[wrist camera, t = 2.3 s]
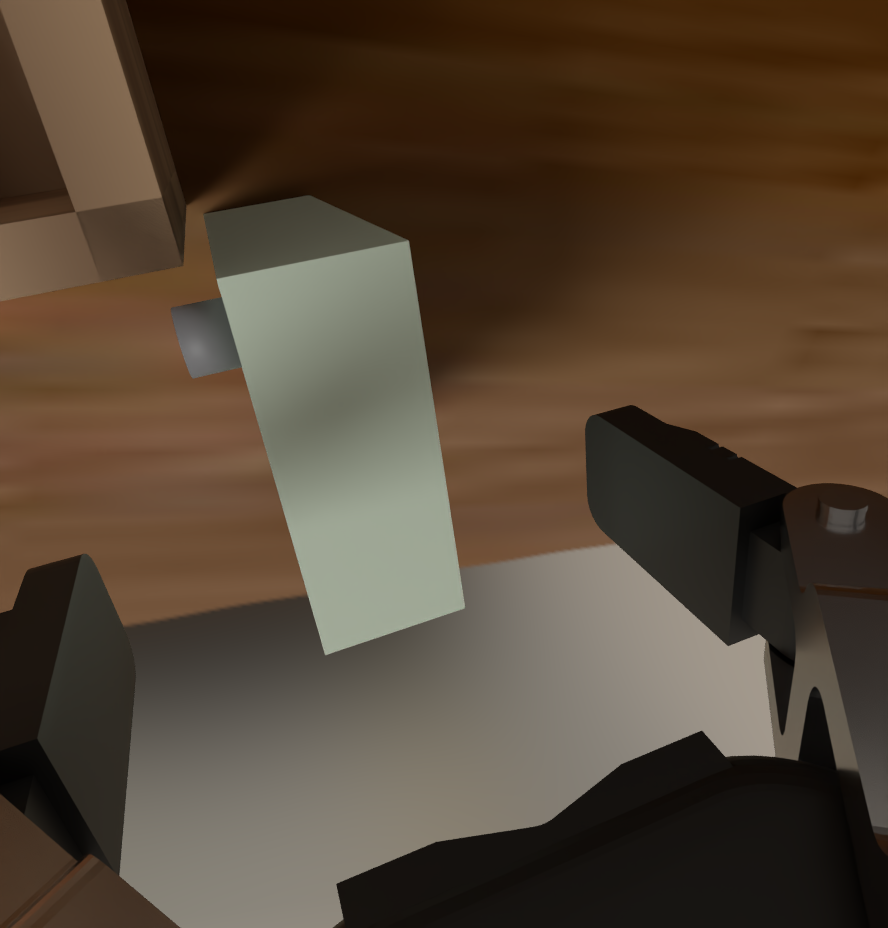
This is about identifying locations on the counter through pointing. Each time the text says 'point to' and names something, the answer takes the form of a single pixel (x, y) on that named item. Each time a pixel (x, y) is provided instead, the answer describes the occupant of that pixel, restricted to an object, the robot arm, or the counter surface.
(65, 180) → the cabinet
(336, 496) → the door
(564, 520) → the counter surface
